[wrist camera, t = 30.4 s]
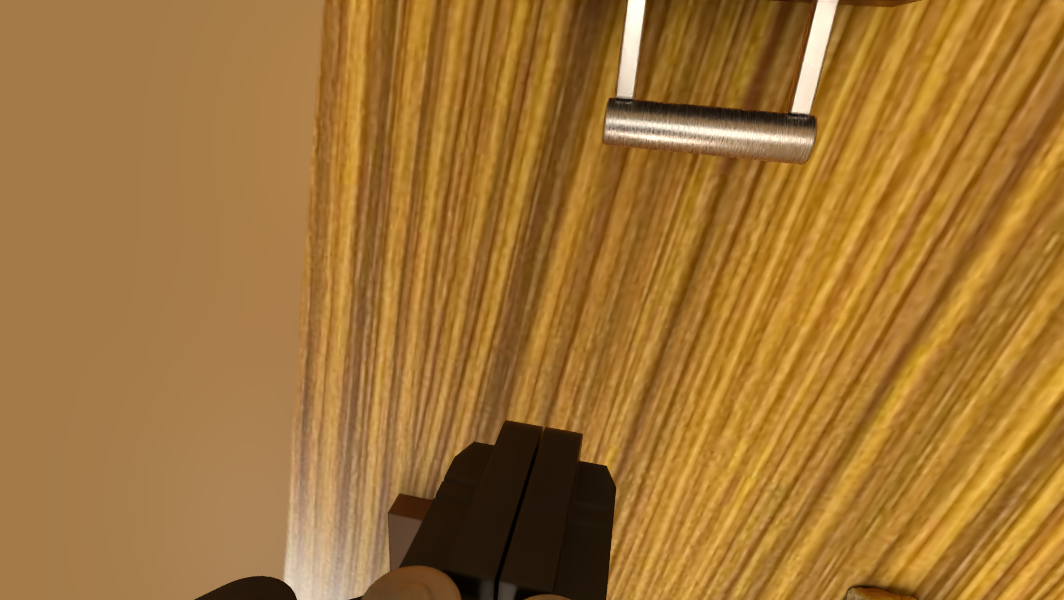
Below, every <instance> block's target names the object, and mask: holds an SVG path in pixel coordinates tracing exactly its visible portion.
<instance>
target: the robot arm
mask: <svg viewBox="0 0 1064 600" xmlns="http://www.w3.org/2000/svg"><path fill="white" fill-rule="evenodd" d="M582 438H583V434H582V433H577V432H571V431H565V430H560V429H554V428H548V427H545V429H544V432H543V427H542V426H536V425H531V424H525V423H519V422H514V421H508V420H506V421H505V422H504V424H503V426H502V429H501V431H500V433H499V436H498V438H497V441H496V443H495V445H489V444H484V443H479V442H473V443H472V444H470V445H469V446H468V447H467V448H465V449H464V450H463V451H462V452H460V453H459V454H458V455H457V456H455V457H454V459H453V461H452V463H451V465H450V467H449V469H448V471H447V473H446V475H445V478H444V481H442V483H441V485H440V487H439V489H438V491H437V493H436V497H435V498H434V499H433V501H432V503H431V505H430V507H429V509H428V511H427V513H426V515H425V517H424V519H423V521H422V523H421V525H420V527H419V529H418V531H417V533H416V535H415V537H414V539H413V541H412V543H411V545H410V547H409V549H408V551H407V553H406V555H405V557H404V559H403V561H402V563H401V565H400V566H399V568H398V569H396V570H393V571H390V572H389V573H387V574H385V575H383V576H382V577H380V578H379V579H378V580H376V581H375V582H374V583H373V584H372V585H371V586H370V587H369V589H368V590H367V591H366V593H365V594H364V595H363V596H360V597H357V598H354V599H350V600H606V595H607V584H608V572H609V561H610V550H611V539H612V528H613V517H614V506H615V495H616V486H615V484H614V481H613V479H612V477H611V475H610V473H609V470H608V468H607V466H604V465H599V464H593V463H588V462H582V461H580V454H581V447H582ZM195 600H297V598H296V596H295V593H294V592H293V590H292V589H291V587H290V586H288V585H287V584H286V583H285V582H283V581H281V580H279V579H276V578H272V577H266V576H253V577H247V578H243V579H239V580H236V581H233V582H231V583H228V584H226V585H224V586H222V587H220V588H217V589H216V590H213V591H211V592H209V593H207V594H205V595H203V596H201V597H199V598H197V599H195Z"/></svg>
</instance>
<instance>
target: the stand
mask: <svg viewBox="0 0 1064 600" xmlns="http://www.w3.org/2000/svg"><path fill="white" fill-rule="evenodd" d="M431 503H432V501H429V500H424V499H420V498H415V497H410V496H406V495H401V494H399V495H398V497H397V499H396V500H395V502H394V504H393V505H392V507H391V509H390V510H389V512H388V529H389V554H390V571H393V570H396V569H398V568H399V566H400V565H401V563H402V561H403V559H404V557H405V555H406V553H407V551H408V549H409V547H410V545H411V543H412V541H413V539H414V537H415V535H416V533H417V531H418V529H419V527H420V525H421V523H422V521H423V519H424V517H425V515H426V513H427V511H428V509H429V507H430V505H431Z"/></svg>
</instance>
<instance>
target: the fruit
mask: <svg viewBox="0 0 1064 600" xmlns="http://www.w3.org/2000/svg"><path fill="white" fill-rule="evenodd" d="M846 600H918V599H916V598H914V597H912V596H899V595H895V594H891V593H889V592H887V591H885V590H882V589H878V588H869V589H864V588H861V587H858V588H851V589H850V590H848V592H847V598H846Z"/></svg>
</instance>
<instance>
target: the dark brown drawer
mask: <svg viewBox="0 0 1064 600" xmlns="http://www.w3.org/2000/svg"><path fill="white" fill-rule="evenodd" d="M772 1H790V2H807V3H811V6H810V11H809V15H808V19H807V23H806V27H805V32H804V36H803V40H802V44H801V49H800V53H799V57H798V61H797V66H796V70H795V74H794V78H793V83H792V87H791V91H790V95H789V99H788V104H787V108H786V112H788V113H780V112H769V111H758V110H746V109H735V108H723V107H712V106H701V105H689V104H678V103H667V102H655V101H644V100H633V99H634V98H635V96H636V89H637V82H638V74H639V67H640V59H641V52H642V44H643V37H644V29H645V22H646V15H647V7H648V0H626V7H625V15H624V23H623V31H622V40H621V48H620V56H619V65H618V73H617V81H616V89H615V98H609V99H608V101H607V105H606V111H605V117H604V125H603V144H605V145H613V146H623V147H633V148H643V149H652V150H662V151H672V152H682V153H692V154H702V155H711V156H721V157H731V158H741V159H751V160H761V161H770V162H780V163H790V164H800V165H803V164H805V163H806V162H807V161H808V159H809V157H810V155H811V153H812V151H813V148H814V144H815V140H816V135H817V118H816V117H815V116H814V115H810V114H811V112H812V108H813V104H814V100H815V96H816V92H817V89H818V85H819V81H820V77H821V73H822V69H823V65H824V61H825V57H826V53H827V49H828V45H829V41H830V37H831V33H832V29H833V25H834V21H835V18H836V14H837V10H838V6H839V4H842V5H860V6H878V7H895V6H899V5H904V4H908V3H912V2H916V1H920V0H772Z"/></svg>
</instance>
